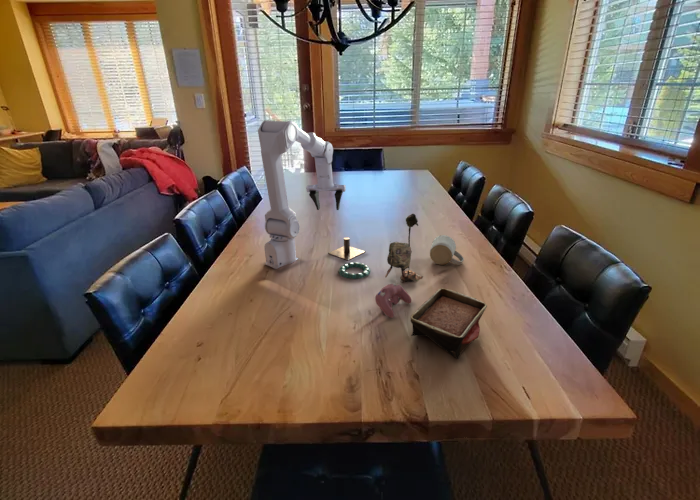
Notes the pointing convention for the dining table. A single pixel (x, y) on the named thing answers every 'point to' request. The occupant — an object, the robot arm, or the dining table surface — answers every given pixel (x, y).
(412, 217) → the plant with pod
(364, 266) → the ring
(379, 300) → the video game controller
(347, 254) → the brown peg stand
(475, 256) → the dining table surface
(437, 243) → the ceramic mug
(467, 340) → the baking dish
